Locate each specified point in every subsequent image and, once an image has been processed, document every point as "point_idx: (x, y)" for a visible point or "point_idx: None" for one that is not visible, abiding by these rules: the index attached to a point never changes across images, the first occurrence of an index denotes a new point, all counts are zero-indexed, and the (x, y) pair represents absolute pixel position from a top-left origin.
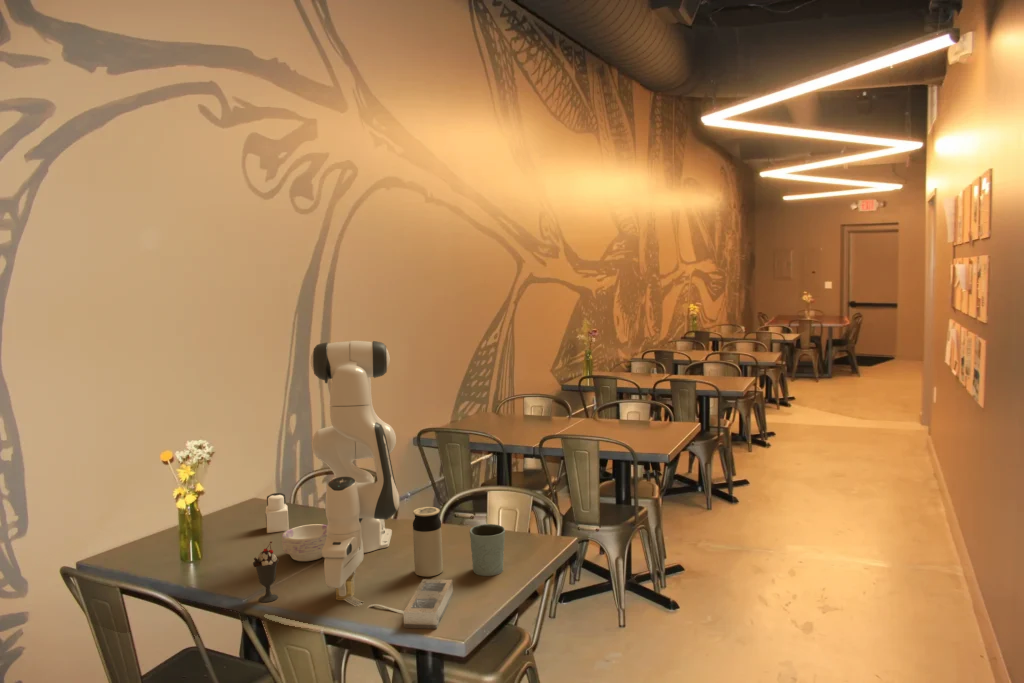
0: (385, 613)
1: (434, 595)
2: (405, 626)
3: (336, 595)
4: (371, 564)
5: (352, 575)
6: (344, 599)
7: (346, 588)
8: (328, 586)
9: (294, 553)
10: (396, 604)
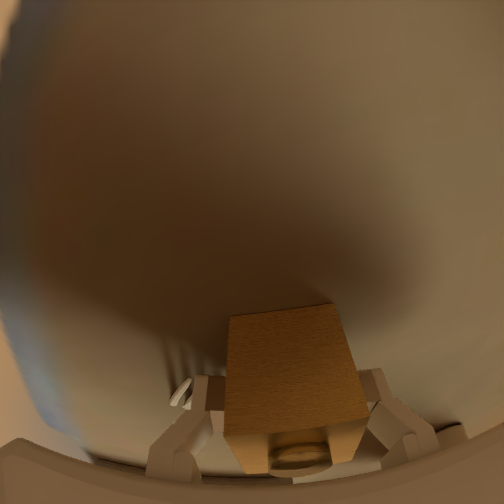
0: (148, 448)
1: None
2: (98, 462)
3: (228, 343)
4: None
5: (351, 458)
6: (186, 381)
7: (219, 431)
8: (9, 446)
9: None
10: (217, 460)
